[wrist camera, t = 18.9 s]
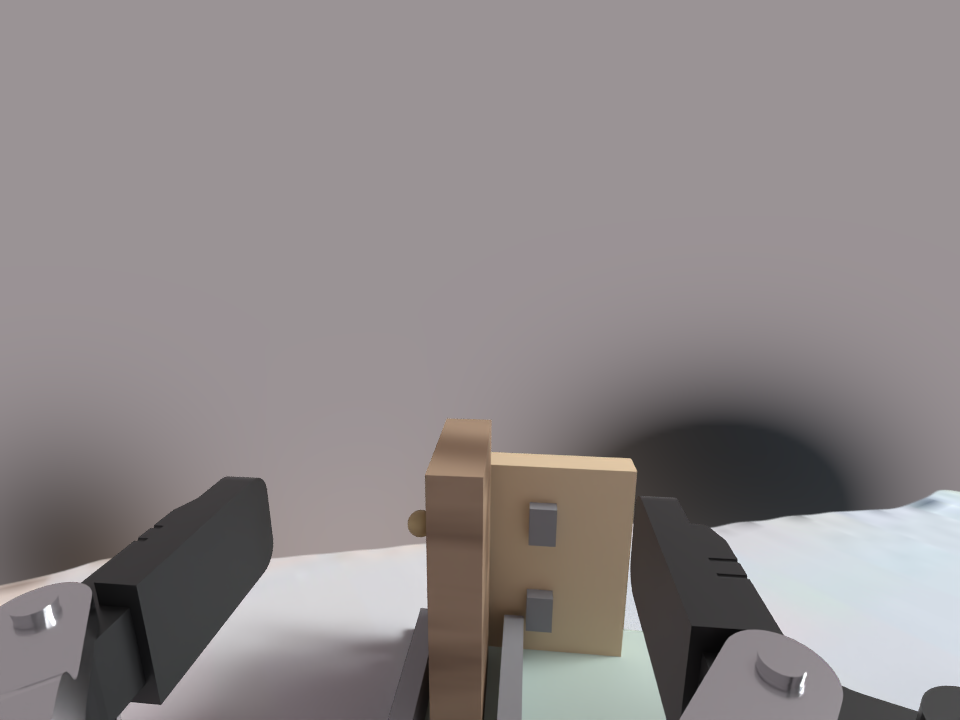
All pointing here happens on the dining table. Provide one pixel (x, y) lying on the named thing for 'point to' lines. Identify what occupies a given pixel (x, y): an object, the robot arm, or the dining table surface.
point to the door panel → (457, 568)
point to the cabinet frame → (554, 598)
